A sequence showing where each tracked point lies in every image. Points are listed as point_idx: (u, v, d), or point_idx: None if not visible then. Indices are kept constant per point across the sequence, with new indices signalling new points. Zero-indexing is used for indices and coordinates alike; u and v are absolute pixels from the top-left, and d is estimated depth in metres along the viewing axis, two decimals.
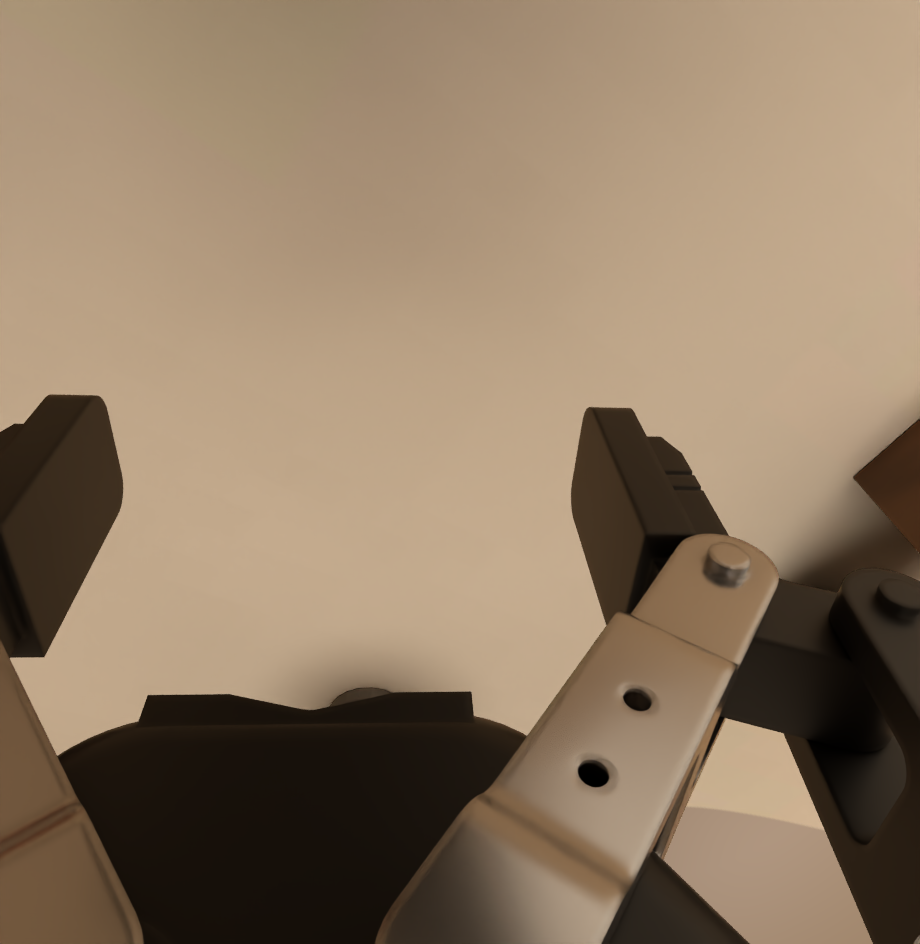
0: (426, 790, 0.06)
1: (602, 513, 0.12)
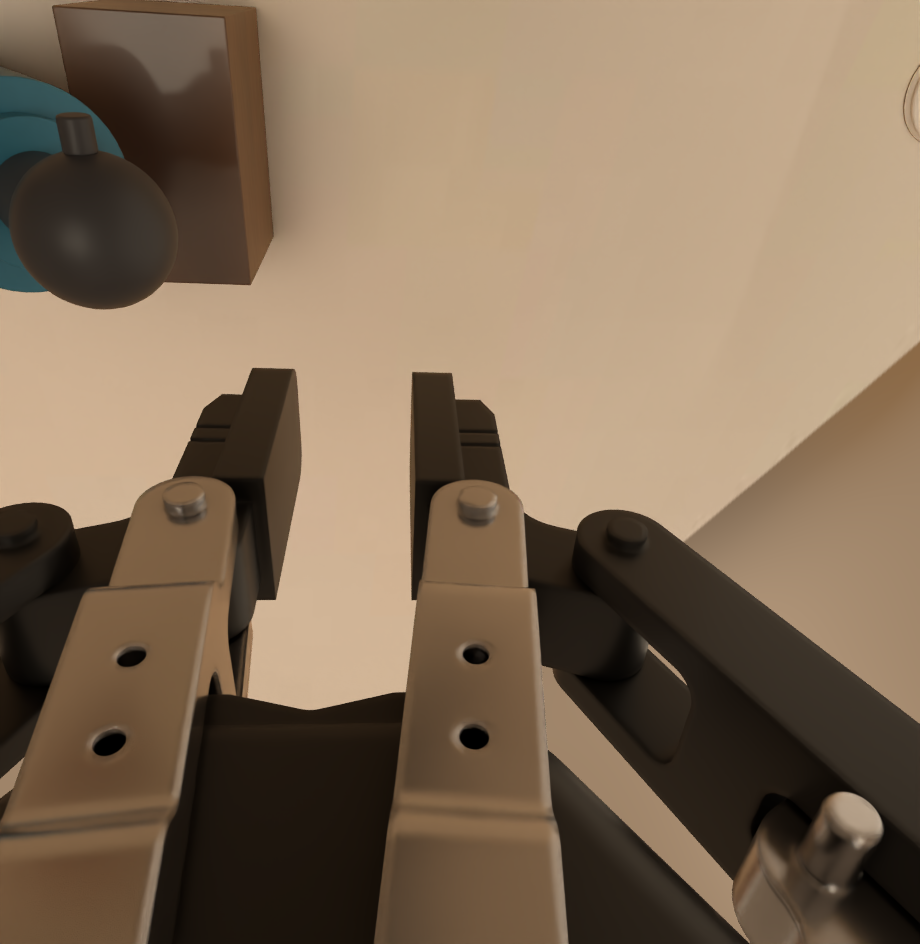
0: None
1: (412, 468, 0.12)
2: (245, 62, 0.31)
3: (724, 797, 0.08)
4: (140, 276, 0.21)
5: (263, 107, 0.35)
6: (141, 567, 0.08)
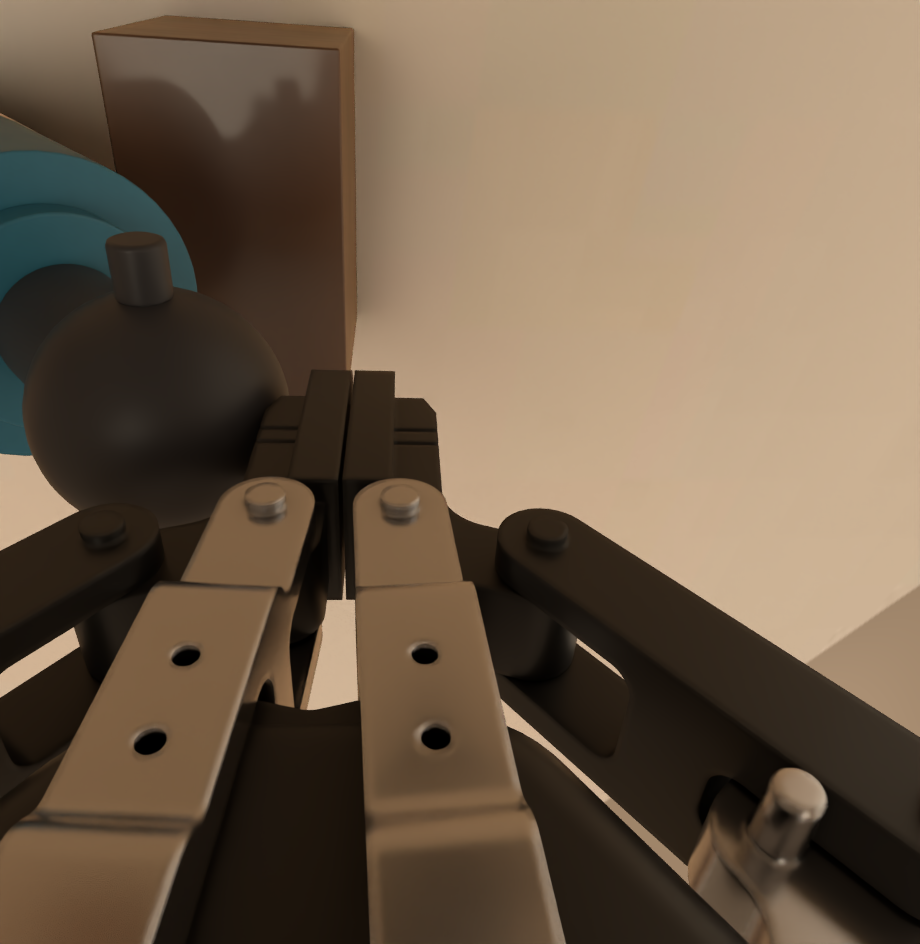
0: None
1: None
2: (348, 105, 0.23)
3: (669, 784, 0.08)
4: None
5: None
6: (214, 564, 0.09)
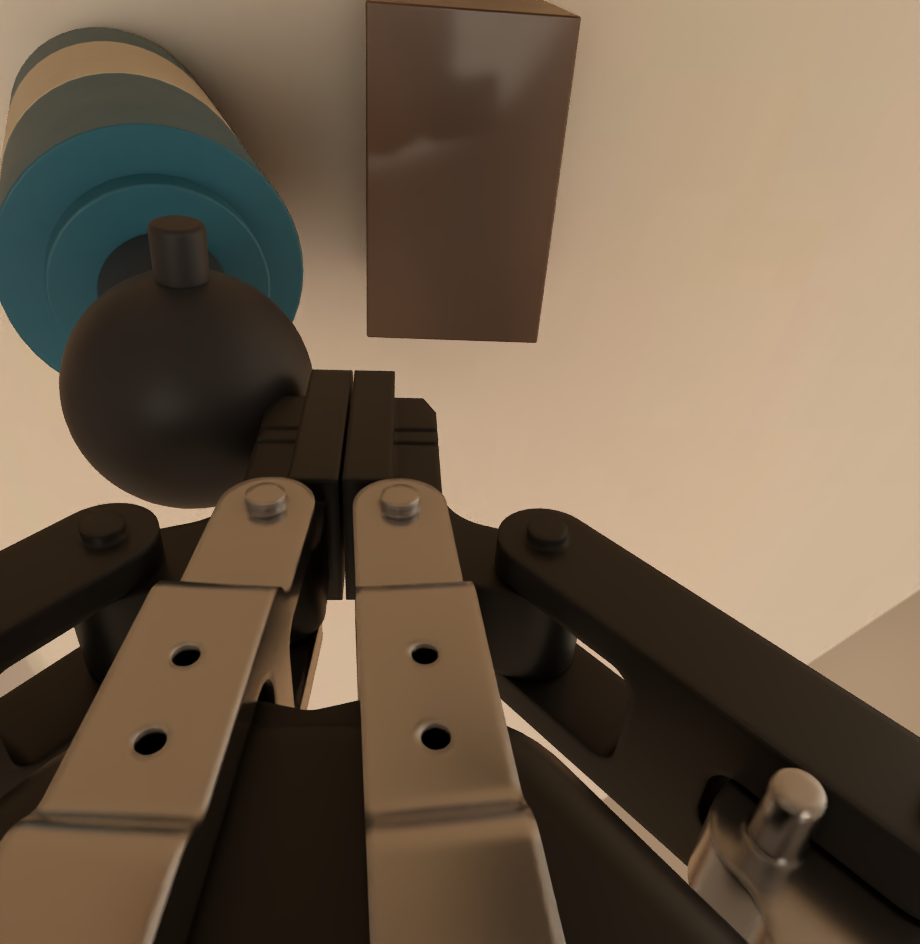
0: None
1: None
2: None
3: (669, 784, 0.08)
4: (227, 485, 0.13)
5: None
6: (214, 564, 0.09)
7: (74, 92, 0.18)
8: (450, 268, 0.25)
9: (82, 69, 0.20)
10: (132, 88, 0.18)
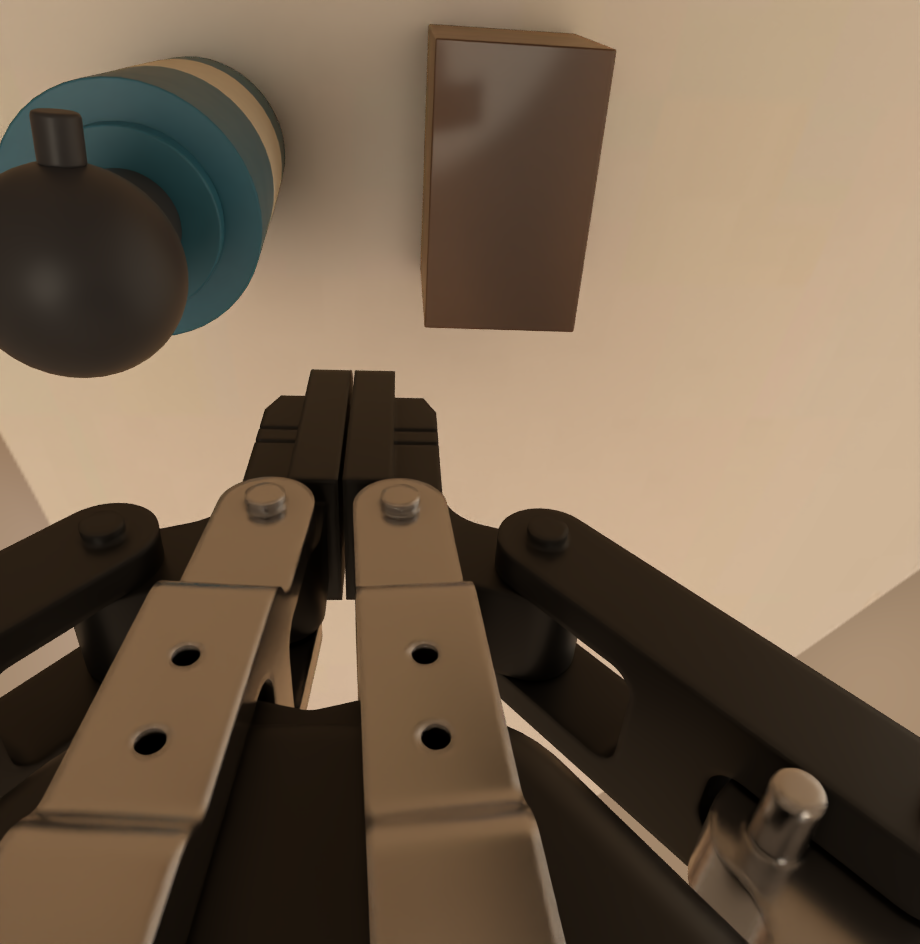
0: None
1: None
2: None
3: (669, 784, 0.08)
4: (64, 341, 0.15)
5: None
6: (213, 564, 0.09)
7: None
8: (499, 265, 0.29)
9: (134, 65, 0.24)
10: (151, 70, 0.22)
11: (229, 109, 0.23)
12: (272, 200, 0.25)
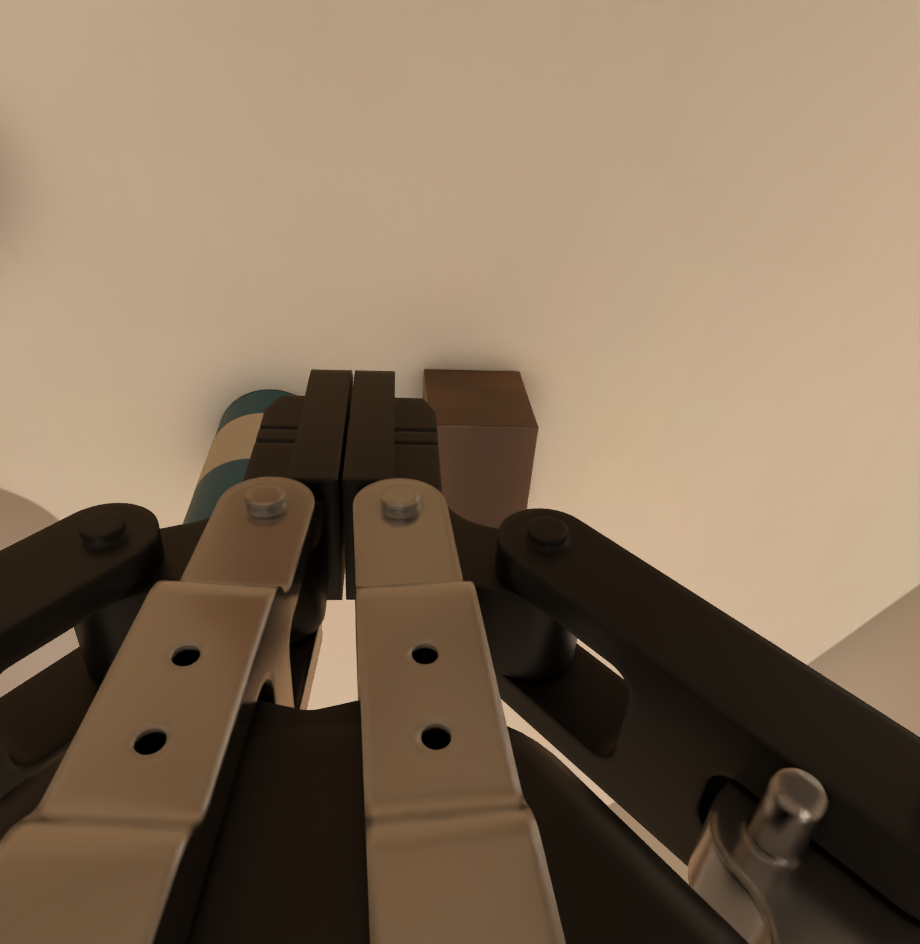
0: None
1: None
2: None
3: (669, 784, 0.08)
4: None
5: None
6: (214, 564, 0.09)
7: (227, 476, 0.39)
8: None
9: (240, 451, 0.41)
10: None
11: None
12: None
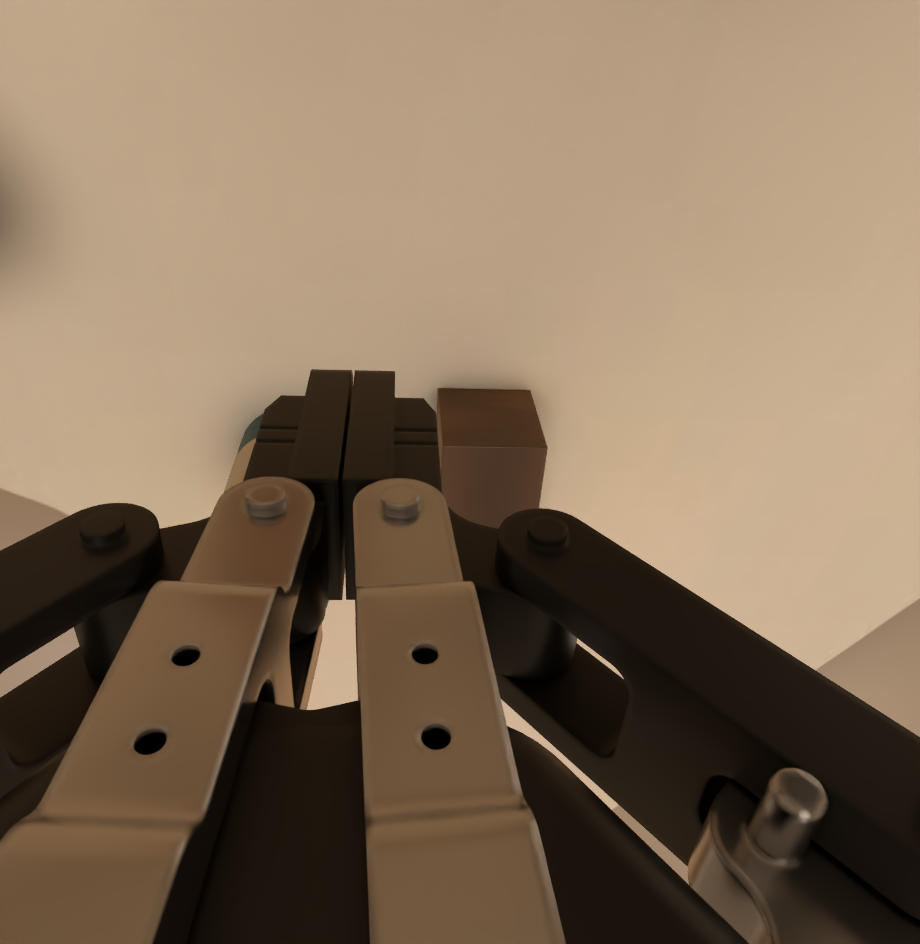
0: None
1: None
2: None
3: (669, 784, 0.08)
4: None
5: None
6: (214, 564, 0.09)
7: None
8: None
9: None
10: None
11: None
12: None
